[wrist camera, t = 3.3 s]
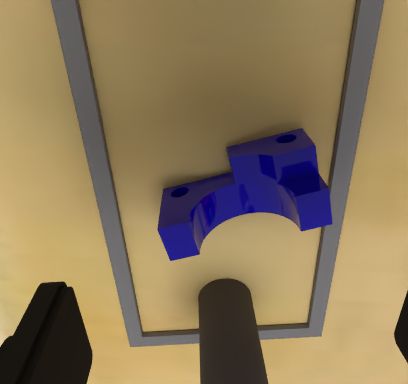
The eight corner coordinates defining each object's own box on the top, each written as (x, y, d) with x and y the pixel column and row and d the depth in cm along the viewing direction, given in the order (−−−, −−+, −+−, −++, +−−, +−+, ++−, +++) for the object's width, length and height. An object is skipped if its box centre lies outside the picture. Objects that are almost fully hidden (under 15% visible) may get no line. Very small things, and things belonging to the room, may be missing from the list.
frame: (-10, -281, 11) (-16, -290, 11) (434, -301, 11) (442, -310, 11) (131, 342, 26) (130, 347, 26) (319, 331, 26) (321, 336, 26)
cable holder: (300, 126, 18) (326, 158, 15) (308, 183, 20) (332, 224, 17) (154, 164, 19) (146, 203, 16) (173, 215, 21) (170, 260, 17)
